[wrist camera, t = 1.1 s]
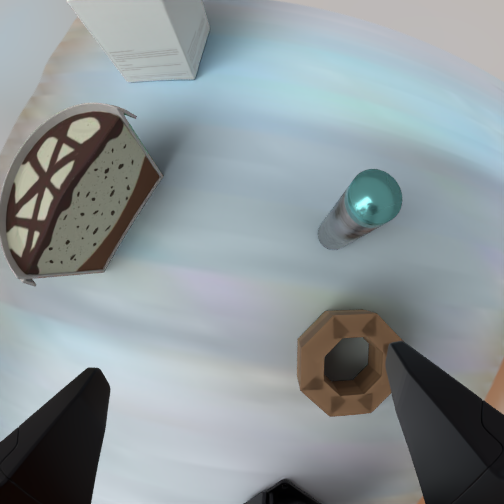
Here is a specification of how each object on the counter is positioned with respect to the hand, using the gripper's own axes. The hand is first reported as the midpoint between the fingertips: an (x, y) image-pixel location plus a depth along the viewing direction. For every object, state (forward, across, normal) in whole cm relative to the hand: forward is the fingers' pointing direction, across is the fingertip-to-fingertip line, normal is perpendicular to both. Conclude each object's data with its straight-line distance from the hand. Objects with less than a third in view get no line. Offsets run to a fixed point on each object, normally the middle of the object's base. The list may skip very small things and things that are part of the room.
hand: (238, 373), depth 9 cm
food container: (+18, +12, -1) cm, 22 cm away
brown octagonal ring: (+11, -6, +11) cm, 16 cm away
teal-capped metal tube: (+16, -6, +3) cm, 17 cm away
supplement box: (+26, +6, -14) cm, 30 cm away
